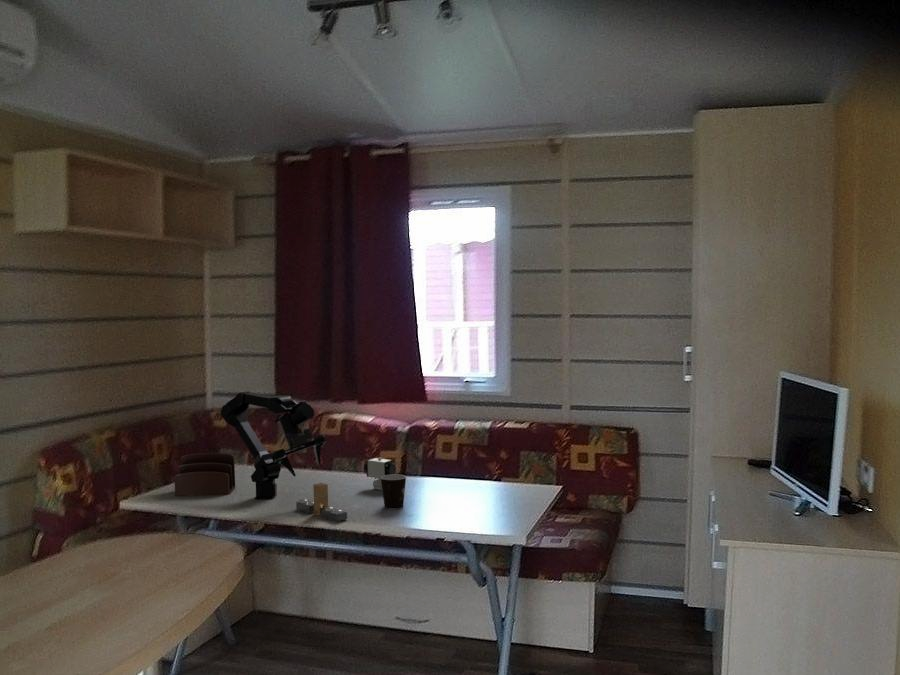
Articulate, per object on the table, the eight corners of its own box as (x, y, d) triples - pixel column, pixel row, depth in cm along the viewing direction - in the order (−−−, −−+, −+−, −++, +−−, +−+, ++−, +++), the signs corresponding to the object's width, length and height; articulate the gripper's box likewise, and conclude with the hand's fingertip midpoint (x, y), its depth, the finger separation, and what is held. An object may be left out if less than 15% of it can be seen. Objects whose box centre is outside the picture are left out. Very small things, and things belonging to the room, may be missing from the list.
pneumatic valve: (389, 492, 287) (388, 459, 287) (363, 488, 294) (363, 456, 293) (398, 489, 292) (397, 457, 292) (372, 485, 298) (372, 454, 298)
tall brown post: (314, 514, 259) (313, 484, 258) (322, 512, 261) (321, 482, 261) (320, 516, 256) (319, 486, 256) (328, 514, 259) (327, 484, 258)
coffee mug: (392, 501, 274) (391, 473, 273) (411, 505, 269) (411, 476, 268) (370, 509, 264) (369, 479, 264) (389, 513, 259) (389, 482, 259)
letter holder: (182, 490, 297) (181, 453, 296) (235, 488, 298) (234, 451, 297) (174, 496, 287) (173, 458, 286) (229, 495, 288) (228, 456, 287)
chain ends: (296, 509, 266) (296, 500, 265) (306, 507, 268) (306, 497, 268) (336, 522, 249) (336, 512, 249) (347, 519, 252) (346, 510, 252)
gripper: (268, 433, 263) (284, 477, 260) (320, 415, 271) (337, 457, 268) (265, 440, 273) (280, 482, 270) (315, 423, 281) (331, 463, 278)
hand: (307, 471), depth 271 cm, fingers open, 9 cm apart
